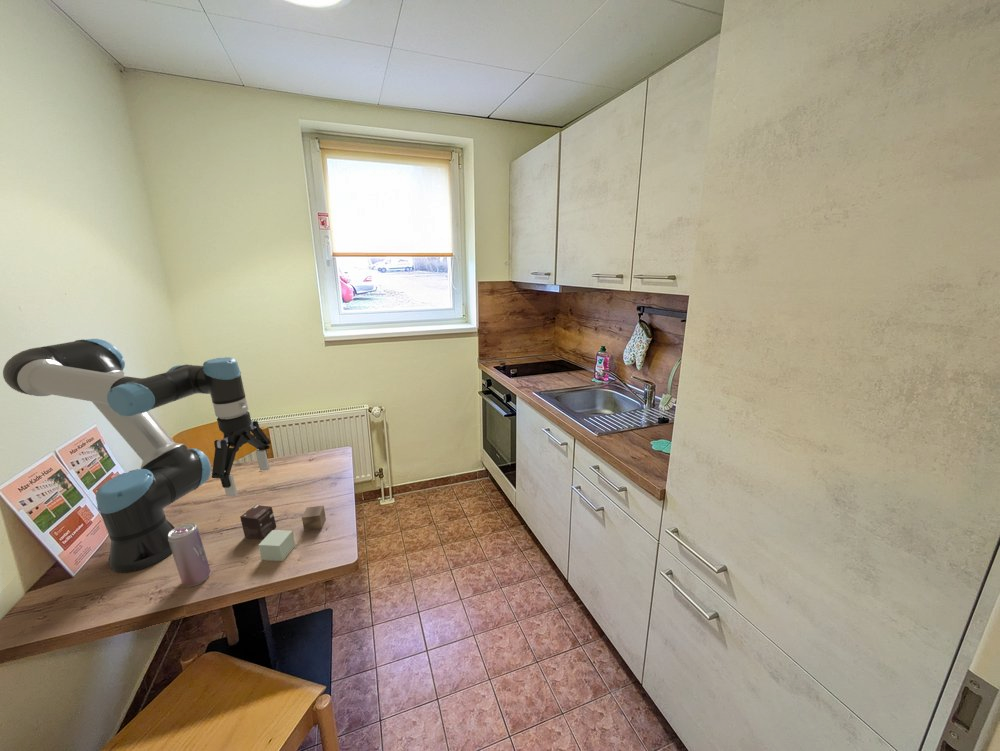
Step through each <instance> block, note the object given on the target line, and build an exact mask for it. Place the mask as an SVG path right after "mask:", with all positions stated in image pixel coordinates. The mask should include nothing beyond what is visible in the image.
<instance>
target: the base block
mask: <svg viewBox="0 0 1000 751" xmlns="http://www.w3.org/2000/svg"><path fill="white" fill-rule="evenodd" d="M295 547H296V541H295V537H294V531H293V530H282V529H281V530H279V529H278V530H277V529H273V530H272V531H271V532H270V533H269V534H268V535H267V536H265V537H264V538H263V539H262V540H261V541H260V543H259V544H258V549H259V552H260V553H259V554H260V558H261V561H270V562H271V561H272V562H273V561H275V562H283V561H284V560H285V559H286V557H288V555H289V554H290V553H291V551H292V550H294V548H295Z"/></svg>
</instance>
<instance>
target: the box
mask: <svg viewBox="0 0 1000 751" xmlns="http://www.w3.org/2000/svg"><path fill="white" fill-rule="evenodd" d="M239 518H240V522H241V526H242V529H243V533H244V537H245V538H248V539H257V540H263V539H264V538H265V537H266V536H267V535H268V534H269V533H270V532H271V531H272V530H275V529H276V528H277V523H276V520H275V519H276V518H275V515H274V511H273V507H272V506H268V505H259V504H257V505H256V504H255V505H254V506H253V507H251V508H249V509H248V510H246V512H244V513H243V514H242V515H240V517H239Z"/></svg>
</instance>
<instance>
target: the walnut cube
mask: <svg viewBox="0 0 1000 751" xmlns="http://www.w3.org/2000/svg"><path fill="white" fill-rule="evenodd" d="M326 519H327V517H326V511H325V507H324V505H318V506H309V507H308V506H307V507H306V508H305V511H304V512H303V515H302V516H301V521H302V526H303V530H304V532H311V531H319V530H323V528H324V525H325V523H326Z"/></svg>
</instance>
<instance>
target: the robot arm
mask: <svg viewBox="0 0 1000 751" xmlns="http://www.w3.org/2000/svg"><path fill="white" fill-rule="evenodd" d="M125 366H126V363H125V360H124V356H123V354H122V353H121V351H120V350H119V349H118V348H117V347H116V346H114V344H112V343H111V342H108V341H106V340H103V339H101V338H100V339H99V338H88V339H83V338H82V339H77V340H74V341H70V342H69V341H68V342H64V343H57V344H51V345H46V346H40V347H33V348H29V349H26V350H25V349H24V350H22V351H19V352H18V353H16V354H15V355H13V356H11V358H9V359H8V360H7V361H6V362H5V364H4V366H3V370H2V378H3V380H4V381H5V383H6V384H7V385H8V387H10V389H12V390H14V391H16V392H18V393H21V394H24V395H29V396H35V397H48V396H58V397H64V398H69V399H76V400H80V401H81V400H82V401H87V402H92V404H93V405H94V407H96V409H97V410H99V412H100V413H101V414H102V415H103V416H104V418H105V419H106V420H107V421H108V422H109V423H110V425H111V426H112V427H113V428H114V429H115V430H116V431H117V433H118V434H119V435H120V436H121V437H122V438H123V440H124V441H125V442H126V443H127V444H128V445H129V447H130V448H131V449H132V450H133V451H134V453H136V455H137V456H138V457H139V458H140V459H141V460H142V463H141V466H140V468H137V469H132V470H129V471H128V472H122V473H120V474H118V475H116V476H114V477H112V478H110V479H108V480H107V481H106V482H104V483H103V484H102V485H101V486H100V487H99V488H98V490H97V492H96V494H95V501H96V505H97V506H96V507H97V510H98V512H99V513H100V515H101V518H102V521H103V523H104V526H105V528H106V529H105V530H106V531H107V534H108V537H109V539H110V545H109V546H110V547H109V557H108V564H109V566H110V568H111V570H112V571H113V572H114V573H115V572H116V573H130V572H135V571H139V570H142V569H145V568H148V567H151V566H152V565H155V564H158V563H159V562H161V561H162V560H164V559H166V558H168V556H170V555H171V554H172V551H171V548H170V545H169V542H168V533H169V532H170V531H171V530H173V529H174V528H176V527H175V526H174V525H173V524H172V523H171V522H170V521H169V520H168V519H167V517H166V514H165V511H164V508H166V507H167V506H170V505H171V504H172V503H174V502H176V501H177V500H179V499H181V498H183V497H184V496H186V495H188V494H189V493H191V492H193V491H195V490H197V489H198V488H199V487H200V486H202V485H203V484H205V483H206V482H208V480H209V478H210V477H211V478H212V479H220V483H221V487H222V488H224V492H225V495H226V497H233V498H234V497H235V498H236V497H238V496H239V494H238V490H237V487H236V482H235V479H234V474H233V473H231V471H232V469H233V468H232V467H233V464H234V461H235V459H236V454H237V452H239V450H240V448H241V447H242V446H243V445H244V444H247V443H248V444H249V445H251V446H252V447H254V448H255V449H256V450H255V455H256V459H257V463H258V468H259V471H269V470H271V468H270V463H269V460H268V458H269V455H268V451H267V450H269V449H270V448H271V447H270V445H271V440H270V439H269V438H268V436H267V435H266V433H265V432H264V431H263V430H262V428H261V427H260V424H259V421H258V420H252V419H251V414H250V412H249V407H248V402H247V399H246V392H245V388H244V382H243V379H242V372H241V370H240V366H239V364H238V361H237V359H236V358H233V357H230V356H229V357H226V356H225V357H216V358H211V359H207V360H205V361H204V362H203V364H202V365H195V364H193V365H192V364H181V365H180V364H179V365H178V364H177V365H175V366H172V367H171V368H169V369H168V371H165V372H163V373H158V374H155V375H152V376H148V377H142V378H140V377H133V376H127V375H125V372H124V368H125ZM196 394H203V395H204V394H205V395H207V394H209V395H210V398H211V402H212V406H213V410H214V413H215V414H214V415H215V417H216V421H217V425H218V428H219V431H220V432H221V433H222V434H223V438H222V439H215V440H214V442H213V445H214V454H213V455H214V457H213V465H211V462H210V460H209V457H208V455H207V454H205V452H203V451H202V450H200V449H198V448H188V447H187V446H186V444H185V443H178V442H175V440H173V438H172V437H171V436H170V435H169V434H168V432H167V431H166V429H164V428H163V427H162V425H161V424H160V423H159V422H158V420H157V419H156V418H155V417H154V416H153V415H152V414H151V412H150V411H151V410H153V409H156V408H160V407H161V406H165V405H167V404H170V403H173V402H176V401H179V400H182V399H184V398H187V397H190V396H192V395H196ZM211 470H212V471H211Z"/></svg>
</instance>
